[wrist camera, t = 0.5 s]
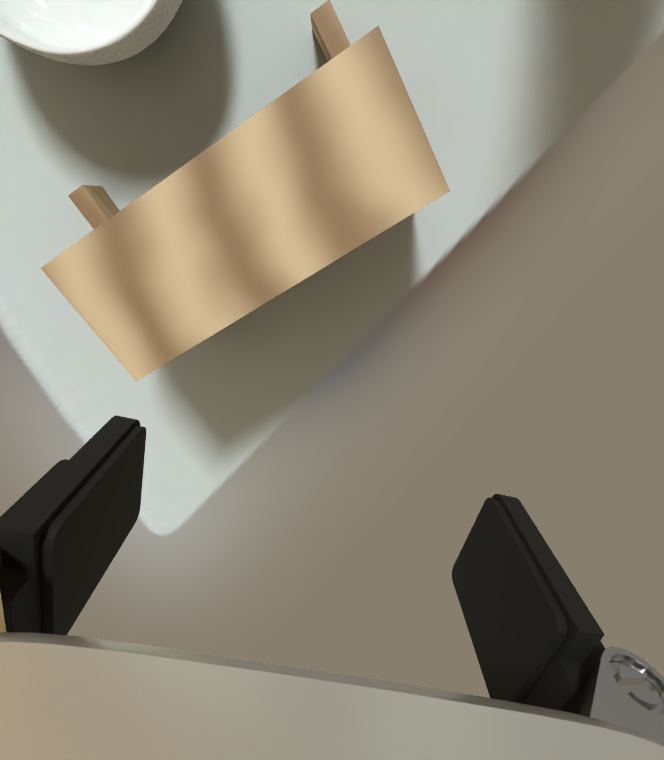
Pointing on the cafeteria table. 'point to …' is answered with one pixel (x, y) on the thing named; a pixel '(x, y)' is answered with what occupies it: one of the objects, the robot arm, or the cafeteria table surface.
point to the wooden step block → (253, 207)
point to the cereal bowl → (85, 27)
